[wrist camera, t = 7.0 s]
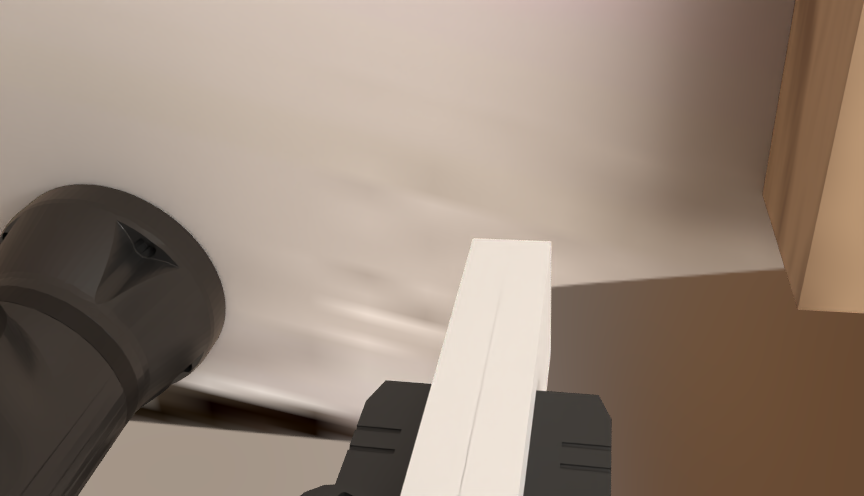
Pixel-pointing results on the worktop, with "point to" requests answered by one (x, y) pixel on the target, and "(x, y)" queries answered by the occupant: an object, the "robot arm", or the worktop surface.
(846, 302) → the socket block
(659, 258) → the worktop surface
